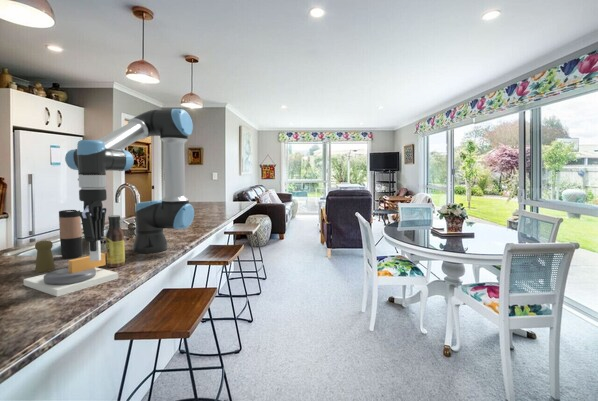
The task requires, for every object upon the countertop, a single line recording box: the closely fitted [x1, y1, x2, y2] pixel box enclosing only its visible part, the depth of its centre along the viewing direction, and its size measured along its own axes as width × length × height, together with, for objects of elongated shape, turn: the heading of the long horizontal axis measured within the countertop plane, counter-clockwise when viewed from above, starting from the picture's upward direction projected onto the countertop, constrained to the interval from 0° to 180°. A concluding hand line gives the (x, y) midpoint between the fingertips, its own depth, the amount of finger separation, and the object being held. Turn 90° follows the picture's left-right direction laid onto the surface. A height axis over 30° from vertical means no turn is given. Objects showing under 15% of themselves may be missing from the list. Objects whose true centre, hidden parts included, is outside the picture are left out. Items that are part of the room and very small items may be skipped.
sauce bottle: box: [105, 214, 126, 268], centre depth 127 cm, size 6×6×20 cm
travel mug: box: [58, 209, 83, 260], centre depth 140 cm, size 8×8×20 cm
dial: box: [43, 252, 107, 285], centre depth 109 cm, size 18×14×6 cm
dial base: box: [23, 267, 119, 297], centre depth 110 cm, size 19×20×2 cm
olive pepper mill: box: [34, 239, 56, 273], centre depth 122 cm, size 6×6×11 cm
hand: (95, 260), depth 107 cm, fingers closed
